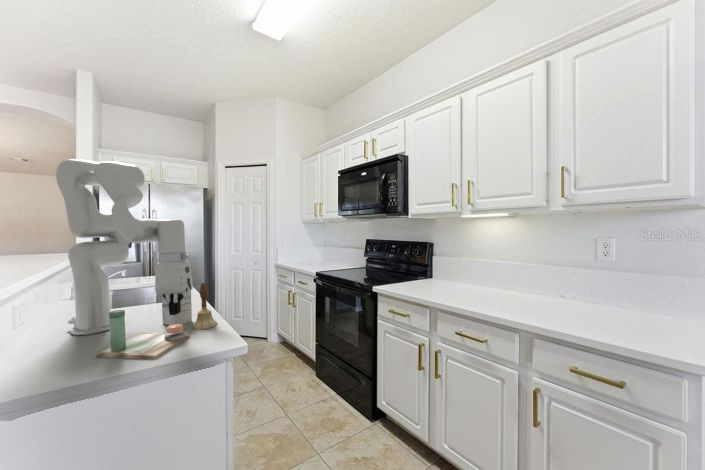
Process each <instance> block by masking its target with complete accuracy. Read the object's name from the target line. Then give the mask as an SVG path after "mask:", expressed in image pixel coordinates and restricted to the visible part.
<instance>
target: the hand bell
mask: <svg viewBox="0 0 705 470" xmlns="http://www.w3.org/2000/svg"><path fill="white" fill-rule="evenodd" d="M199 297H200V298H201V299H200V301H201V305H200V306H201V309H200V310H199V311H198V312H197V317H196V321H195V322H194V324H192V329H193V330H194V329H195V330H206V329H210V328H213V327H215V326H217V325H218V322H217V320H215V319H214V318H213V314H212V311H211V309H209V308H208V306H207V297H208V287H207V285H206V283H205V282H201V283H200V287H199Z"/></svg>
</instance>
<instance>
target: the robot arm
mask: <svg viewBox="0 0 705 470" xmlns="http://www.w3.org/2000/svg"><path fill="white" fill-rule="evenodd" d="M55 181H56V184H57V187H58V188H59V191H60V193H61V195H62V197H63V200H64V205H65V211H66V216H67V217H66V218H67V222H68V227H69V231H70V232H71V235H72V236H73V237H76V238H78V239H93V238H104V240H92V241H90V240H89V241H83V242H79V243H76V244H73V245H72V246H71V247H70V248H69V250H68V254H67V257H68V258H67V259H68V261H69V264H70V267H71V272H72V277H73V290H74V291H73V292H74V304H75V306H74V307H75V316H72V317H71V319H69V320H68V321H67V323H68V325H73V327H72V328H71V329H70V334H71V335H74V336H85V335H93V334H98V333H102V332H105V331H110V324H109V312H111V298H110V296H111V295H110V293H111V292H110V280H109V279H110V278H109V277H108V275H107V273H106V272H105V271H104V270H103V269H102V268H104V267H108V266H117V265H121V264H123V263H125V262H126V261H127V259H128V257H129V245H128V243H131V244H143V243H157V250H158V251H157V252H158V253H157V256H158V262H156V269H155V278H154V279H155V280H154V284H155V285H154V287H155V291H156V296H158V297H161V298H162V297H164V298H165V299H166V302H167V303H169V315H176V314H179V313H180V311H181V302H180V301H182V299H183V298H184V297H186V296H189V295H191V296H192V290H193V288H194V284H193V281H194V280H193V275H192V269H191V265H190V261H188V260H187V259H189V257H190V255H189V254H188V253H187V251H186V235H185V234H186V233H185V223H184V221H183V220H182V219H176V218H175V219H173V218H172V219H171V218H170V219H162V218H135V217H134V215H133V214H132V213H131V211H130V209H131V208H133V207H136V206H137V205H138V204H139V203H141V201H142V200H143V198H144V197H143V195H144V194H143V192H142V190H141V189H140V188H141V187H143V185H144V183H145V175H144V172H143V170H142V169H141V168H140V167H138V166H137V165H135V164H129V163H123V162H119V161H112V160H111V161H109V160H108V161H107V160H106V161H105V160H104V161H101V162H99V161H98V162H97V161H93V160H85V159H78V158H77V159H76V158H75V159H74V158H70V159H65V160H63V161H61V162H60V163H59V164H58V165H57V168H56V171H55ZM86 186H95V187H102V188H103V190H104V191H105V192H106V194H107V195H108V197H109V198H110V199H111V200H112V202H113V205H112V207H111V211H100V210H99V208H98V202H97V201H98V200H97V199H96V197H95V195H94V194H93V193H92V191H90V190H89V189H88V187H86ZM190 290H191V291H190Z"/></svg>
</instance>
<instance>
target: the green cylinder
mask: <svg viewBox="0 0 705 470" xmlns="http://www.w3.org/2000/svg"><path fill="white" fill-rule="evenodd" d="M125 316H126V310H125V309H116V310H112V311H111V310H110V312H109V324H110V329H109V338H110V339H109V340H110V341H109V342H110V347H111V351H112V352H116V351H121V350H124V349H125V348H126V339H127V337H126V319H125V318H126V317H125Z"/></svg>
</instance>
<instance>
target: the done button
mask: <svg viewBox="0 0 705 470" xmlns="http://www.w3.org/2000/svg"><path fill="white" fill-rule="evenodd" d="M181 331H184V324H183V325H182V324H174V325H167V327H166V333H177V332H181Z"/></svg>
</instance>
